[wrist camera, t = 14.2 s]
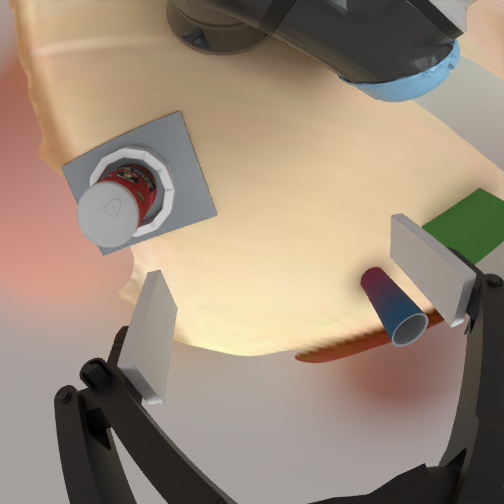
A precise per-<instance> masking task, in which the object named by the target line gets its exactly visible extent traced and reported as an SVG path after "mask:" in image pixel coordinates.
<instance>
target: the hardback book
mask: <svg viewBox="0 0 504 504" xmlns="http://www.w3.org/2000/svg"><path fill="white" fill-rule="evenodd" d="M422 229H424V230H425V231H426V232H427V233H429V234H430V235H431V236H432V237H434V238H435V239H436V240H437V241H439V242H440V243H441V244H442V245H444V246H445V247H451V248H453V249H455V250H457V251H458V252H460V253H461V254H462V255H463V256H464V257H466V258H467V259H468V261H470V262H471V263H473V264H474V265H475V266H476V267H477V268H478V269H479V270H481V271H482V272H483V273H484V274H488V273H489V274H496V275H498V276H500V277H501V278H502V279H503V280H504V201H503V200H501V199H499V198H497V197H496V196H494V195H492V194H490V193H488V192H486V191H484V190H482V189H480V188H479V189H478V190H476V191H475V192H473V193H472V194H471V195H469V196H468V197H466V198H465V199H463V200H462V201H460V202H459V203H457V204H456V205H454V206H453V207H451V208H450V209H448V210H447V211H445V212H444V213H442V214H441V215H439V216H438V217H436V218H435V219H433V220H432V221H430V222H428V223H427V224H425V225H424V226H422Z"/></svg>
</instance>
